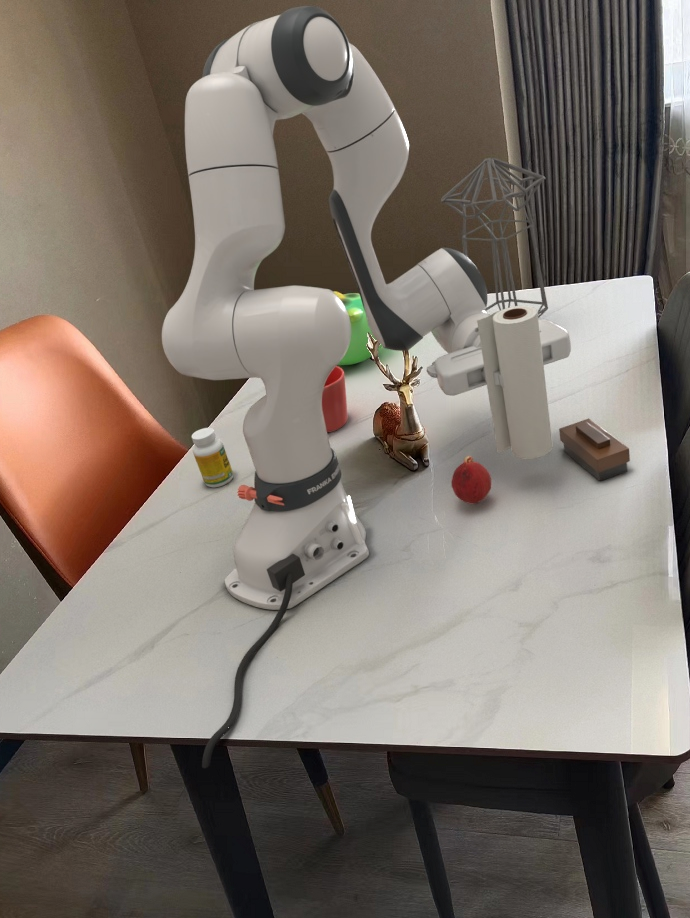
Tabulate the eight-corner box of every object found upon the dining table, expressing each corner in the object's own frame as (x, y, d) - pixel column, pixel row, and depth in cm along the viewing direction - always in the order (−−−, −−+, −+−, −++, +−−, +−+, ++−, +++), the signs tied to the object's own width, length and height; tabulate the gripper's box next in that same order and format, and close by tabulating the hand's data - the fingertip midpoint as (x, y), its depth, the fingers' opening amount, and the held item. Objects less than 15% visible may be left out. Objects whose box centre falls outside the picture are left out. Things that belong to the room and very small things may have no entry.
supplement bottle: (204, 477, 155) (187, 431, 150) (233, 469, 155) (216, 422, 150) (205, 491, 150) (187, 443, 145) (235, 482, 151) (218, 435, 146)
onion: (483, 516, 126) (475, 470, 121) (449, 511, 129) (440, 465, 124) (500, 495, 129) (493, 449, 125) (467, 490, 132) (458, 445, 128)
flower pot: (331, 441, 156) (318, 393, 151) (288, 433, 163) (274, 387, 157) (366, 414, 162) (355, 367, 157) (324, 408, 169) (311, 362, 164)
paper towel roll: (561, 443, 127) (546, 306, 115) (537, 463, 124) (519, 324, 112) (521, 434, 131) (503, 301, 120) (497, 453, 128) (476, 318, 116)
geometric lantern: (460, 345, 181) (430, 172, 162) (505, 316, 189) (482, 148, 170) (520, 354, 170) (496, 170, 151) (565, 323, 178) (548, 145, 159)
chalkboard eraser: (561, 450, 136) (558, 422, 134) (590, 440, 137) (588, 412, 134) (599, 483, 127) (596, 453, 124) (630, 471, 127) (628, 442, 125)
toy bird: (353, 339, 196) (338, 277, 188) (413, 344, 187) (399, 278, 179) (303, 374, 186) (285, 309, 178) (364, 381, 176) (347, 312, 168)
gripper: (418, 348, 128) (452, 379, 117) (542, 307, 131) (587, 334, 120) (426, 386, 132) (459, 420, 120) (546, 345, 135) (590, 375, 123)
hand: (524, 376), depth 120 cm, fingers closed on paper towel roll, 3 cm apart
